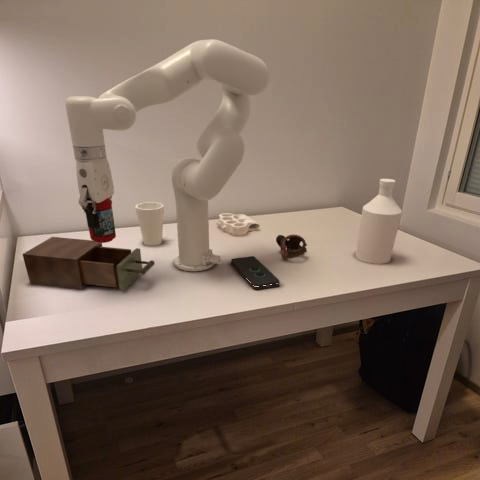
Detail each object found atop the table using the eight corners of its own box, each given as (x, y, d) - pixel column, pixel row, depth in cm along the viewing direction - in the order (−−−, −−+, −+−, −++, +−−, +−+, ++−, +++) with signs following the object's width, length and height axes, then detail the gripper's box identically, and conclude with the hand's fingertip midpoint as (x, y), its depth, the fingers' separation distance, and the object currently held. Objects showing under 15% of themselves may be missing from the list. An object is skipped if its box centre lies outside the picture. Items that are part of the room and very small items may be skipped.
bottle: (362, 247, 147) (375, 174, 134) (396, 255, 142) (413, 179, 129) (349, 258, 139) (361, 180, 126) (384, 267, 133) (401, 187, 120)
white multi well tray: (263, 232, 159) (227, 237, 154) (244, 219, 173) (210, 223, 168) (263, 224, 157) (227, 228, 152) (244, 211, 171) (210, 214, 166)
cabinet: (106, 269, 128) (101, 241, 123) (82, 289, 116) (76, 259, 111) (58, 264, 131) (52, 236, 126) (30, 283, 119) (22, 254, 114)
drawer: (159, 273, 124) (157, 250, 121) (142, 292, 113) (139, 268, 110) (96, 266, 128) (92, 244, 124) (73, 284, 117) (68, 260, 113)
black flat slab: (254, 285, 117) (229, 258, 133) (253, 290, 117) (229, 263, 133) (280, 280, 119) (254, 255, 135) (280, 286, 120) (253, 260, 136)
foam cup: (133, 244, 146) (129, 207, 139) (148, 236, 154) (145, 200, 147) (157, 248, 143) (154, 211, 136) (171, 240, 151) (168, 204, 144)
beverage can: (101, 246, 111) (93, 200, 105) (85, 240, 114) (77, 195, 108) (121, 239, 115) (115, 195, 109) (106, 233, 119) (99, 190, 113)
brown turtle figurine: (311, 255, 142) (313, 239, 135) (295, 273, 139) (296, 258, 131) (282, 239, 146) (283, 223, 139) (266, 256, 143) (266, 241, 136)
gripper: (86, 160, 95) (98, 235, 105) (119, 148, 110) (127, 215, 119) (56, 158, 97) (71, 232, 106) (93, 146, 111) (103, 213, 120)
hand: (101, 223), depth 112 cm, fingers closed on beverage can, 6 cm apart
